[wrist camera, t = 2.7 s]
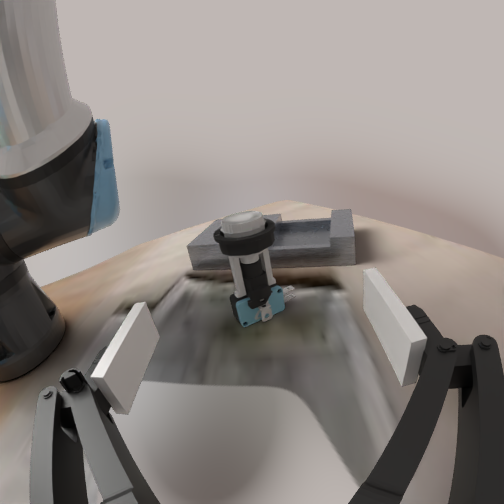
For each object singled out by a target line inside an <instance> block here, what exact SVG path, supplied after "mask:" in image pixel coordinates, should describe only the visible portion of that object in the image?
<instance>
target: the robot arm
mask: <svg viewBox="0 0 504 504" xmlns="http://www.w3.org/2000/svg"><path fill="white" fill-rule="evenodd" d="M119 209H120V208H119V199H118V192H117V184H116V176H115V169H114V164H113V154H112V143H111V134H110V126H109V123H108V121H107V120H104V119H103V120H100V119H96V120H95V121H93V117H92V112H91V109H90V107H89V106H88V105H87V104H85V103H83V102H80V101H78V100H75V99H73V98H72V96H71V93H70V88H69V83H68V79H67V74H66V69H65V64H64V58H63V53H62V47H61V41H60V34H59V27H58V19H57V10H56V0H0V381H7V380H11V379H14V378H17V377H19V376H21V375H23V374H25V373H27V372H28V371H30V370H32V369H33V368H34V367H36V366H37V365H38V364H40V363H41V362H42V361H43V360H44V359H45V358H47V357H48V356H49V355H50V354H51V352H52V351H53V350H54V349H55V348H56V346H57V345H58V344H59V342H60V340H61V339H62V337H63V334H64V332H65V321H64V319H63V317H62V315H61V313H60V311H59V309H58V307H57V306H56V305H55V303H54V302H53V301H52V300H51V299H50V298H49V297H48V296H47V295H46V293H45V292H44V291H43V290H42V289H41V288H40V287H39V285H38V284H37V283H36V282H35V281H34V279H33V278H32V277H31V275H30V274H29V271H28V269H27V266H26V264H25V262H24V259H25V258H28V257H30V256H33V255H35V254H38V253H41V252H43V251H46V250H49V249H52V248H54V247H57V246H60V245H62V244H65V243H68V242H71V241H74V240H77V239H80V238H83V237H85V236H90V235H91V234H92V233H94V232H96V231H98V230H101V229H103V228H106V227H108V226H110V225H112V224H113V223H114V222H115V221H116V220H117V218H118V216H119ZM363 272H364V296H363V310H364V311H365V313H366V315H367V317H368V319H369V321H370V323H371V325H372V327H373V329H374V331H375V333H376V335H377V337H378V339H379V341H380V343H381V345H382V347H383V349H384V351H385V353H386V355H387V357H388V359H389V361H390V363H391V365H392V367H393V369H394V371H395V373H396V376H397V378H398V380H399V382H400V384H401V386H402V387H403V386H406V385H409V384H412V383H415V382H416V381H417V378H418V374H419V375H420V377H419V380H418V382H417V385H416V387H415V389H414V392H413V394H412V396H411V399H410V401H409V403H408V405H407V407H406V409H405V412H404V414H403V416H402V418H401V420H400V422H399V424H398V426H397V428H396V430H395V432H394V434H393V435H392V437H391V439H390V441H389V443H388V445H387V446H386V448H385V450H384V452H383V454H382V455H381V457H380V459H379V460H378V462H377V464H376V465H375V467H374V469H373V470H372V472H371V473H370V475H369V477H368V478H367V480H366V481H365V482H364V483H363V484H362V485H361V487H360V488H359V489H358V491H357V492H356V493H355V495H354V496H353V498H352V499H351V501H350V502H349V503H348V504H400V502H401V500H402V498H403V495H404V493H405V491H406V489H407V487H408V485H409V483H410V481H411V480H412V478H413V476H414V474H415V472H416V470H417V468H418V465H419V463H420V461H421V459H422V457H423V455H424V452H425V450H426V448H427V446H428V443H429V441H430V438H431V436H432V434H433V431H434V428H435V426H436V423H437V421H438V418H439V415H440V412H441V409H442V406H443V403H444V400H445V397H446V394H447V391H448V389H453V388H458V393H459V407H458V434H457V447H456V458H455V466H454V474H453V480H452V487H451V492H450V498H449V503H448V504H504V374H503V369H502V363H501V358H500V354H499V349H498V345H497V342H496V340H495V339H494V338H492V337H490V336H488V335H479V336H477V337H475V339H474V340H473V343H472V344H471V345H457V343H456V342H455V341H453V340H452V339H449V338H443V336H442V335H441V333H440V332H439V331H438V329H437V328H436V327H435V325H434V324H433V323H432V321H431V320H430V319H429V318H428V317H427V315H426V314H425V312H424V311H423V310H422V309H421V308H419V307H417V306H416V305H412V306H408V307H405V306H404V304H403V303H402V302H401V300H400V299H399V297H398V296H397V295H396V293H395V292H394V291H393V289H392V288H391V287H390V286H389V284H388V283H387V282H386V280H385V279H384V278H383V276H382V275H381V274H380V273H379V271H378V270H377V269H376V267H375V268H370V269H365V270H363ZM159 338H160V336H159V333H158V331H157V329H156V326H155V324H154V322H153V319H152V317H151V314H150V312H149V309H148V307H147V304H146V302H142V303H135V304H134V306H133V307H132V309H131V311H130V312H129V314H128V315H127V317H126V318H125V320H124V322H123V323H122V325H121V326H120V328H119V330H118V331H117V333H116V334H115V336H114V338H113V339H112V341H111V343H110V344H109V346H108V347H104V348H103V349H102V350H101V351H100V352H99V354H98V355H97V357H96V360H94V362H93V365H91V367H90V368H89V370H88V372H87V374H86V375H85V377H84V376H83V375H82V373H81V372H80V370H79V369H77V368H71V369H68V370H67V371H65V372H64V373H63V374H62V375H61V377H60V379H59V382H60V383H61V385H62V386H63V388H64V389H65V390H66V391H64V392H58V390H57V389H56V388H55V387H54V386H48V387H46V388H44V389H43V390H42V391H41V392H40V394H39V396H38V402H37V408H36V414H35V421H34V429H33V438H32V448H31V462H30V504H88V498H87V490H86V482H85V473H84V461H83V449H84V452H85V455H86V458H87V461H88V464H89V466H90V469H91V471H92V474H93V477H94V479H95V481H96V484H97V486H98V489H99V491H100V493H101V495H102V498H103V502H101V503H100V504H160V503H159V501H158V500H157V498H156V496H155V495H154V493H153V492H152V490H151V489H150V487H149V485H148V484H147V482H146V480H145V479H144V477H143V476H142V474H141V472H140V470H139V469H138V467H137V465H136V463H135V461H134V460H133V458H132V456H131V454H130V452H129V450H128V449H127V446H126V444H125V443H124V441H123V439H122V437H121V434H120V432H119V431H118V428H117V426H116V424H115V422H114V420H113V417H112V415H111V414H110V413H109V410H110V408H111V407H112V408H113V410H114V411H115V412H116V413H117V414H127V415H128V414H129V412H130V409H131V407H132V404H133V401H134V399H135V396H136V394H137V391H138V389H139V386H140V384H141V381H142V379H143V376H144V374H145V371H146V369H147V367H148V364H149V362H150V359H151V357H152V355H153V352H154V350H155V348H156V345H157V343H158V340H159Z"/></svg>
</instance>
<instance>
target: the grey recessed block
mask: <svg viewBox="0 0 504 504" xmlns="http://www.w3.org/2000/svg"><path fill="white" fill-rule="evenodd" d="M263 219H269V220H272V221H273V222H274V223H275V231H274V238H275V241H274V243H273V245H272V246H270V247H268V251H269V257H270V263H271V268H282V267H311V266H337V265H356V259H355V235H354V227H353V219H352V212H351V209H346V210H332V214H331V218H321V219H306V220H291V221H282V219H281V214H274V215H263ZM221 220H222V219H218V220H216V221H214V222H213V223H212V224H211V225H210V226H209V227H208V228H206V229H205V230H204V231H203V232H202V233H201V234H200V235H198V236H197V237H196V238H195V239H194V240H193V241H192V242H191V243H189V244H188V245H187V249H188V252H189V256H190V260H191V263H192V267H193V270H211V269H231V265H230V261H229V256H228V255H224V254H222V252H221V250H220V247H219V243H217V242H216V241H215V240H214V237H213V234H214V232H215V231H216V230H217V229H219V228H220V227H222V224H221ZM259 257H260V256H259ZM239 263H240V258H239Z"/></svg>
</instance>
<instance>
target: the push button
mask: <svg viewBox="0 0 504 504" xmlns="http://www.w3.org/2000/svg"><path fill="white" fill-rule="evenodd" d="M221 224H222V227H220V228H219V229H217V230H216V231H215V232H214V234H213V237H214V240H215V241H216V242H217V243H219V247H220V250H221V252H222V254H224V255H228V256H229V261H230V265H231V269H232V274H233V278H234V282H235V287H236V290H235V291H234V294H232V295H231V296H230V301H231V305H232V309H233V313H234V316H235V317H236V319H237V320H238V321H239V322H240V324H241V325H242V326H243V327H247V326H249V325H251V324H253V323H256V322H258V321H260V320H262V321H264V322H265V321H267V320H270V319H272V317H273V316H272V315H274V314H276V313H279V312H281V311H283V310H284V309H285V304H284V303H285V302H287V300H290V299H292V298H294V297H295V295H294V294H292V293H291V294H288V295H286V296H284V297H283V295H285V294H287V292H289V291H292V290H294V289H295V288H294V287H292V286H288V287H286V288H284V289H282V288H281V287H280V286H278V285H277V284H276V280H275V278H273V275H272V269H271V263H270V257H269V251H268V247H270V246H272V245H273V243H274V241H275V238H274V231H275V223H274V222H273V221H272V220H269V219H263V214H262V213H261V212H259V211H245V212H240V213H235V214H232V215H229V216H227V217H225V218H224V219H222V220H221ZM259 256H260V257H259ZM239 258H240V263H239ZM288 288H290V290H287V289H288ZM288 296H292V297H288Z"/></svg>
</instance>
